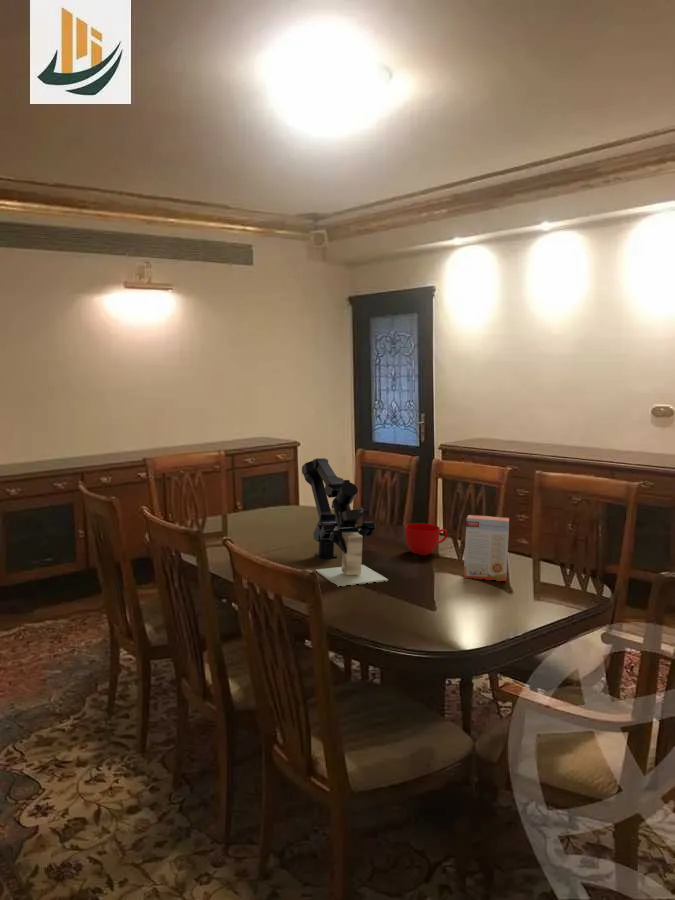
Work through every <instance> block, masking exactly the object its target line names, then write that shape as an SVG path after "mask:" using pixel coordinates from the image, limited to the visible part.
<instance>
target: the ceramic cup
mask: <svg viewBox="0 0 675 900" xmlns="http://www.w3.org/2000/svg"><path fill="white" fill-rule="evenodd" d="M442 532H445V535H444V537H443V538H441V539H440V540H439V538H440V534H441V533H442ZM404 534H405V535H404V537H405V541H406V544H407V547H408V548H409V550H410V551H411V553H412V554H413V553H415V554H414V555H416V554H419V555H418V556H428V554H429V555H431V553H432V552H433V551H434V550H435V549H436V547H437V545H439V544H441V543H442V542H444V541H446V539H447V538H448V536H449V532H448V530H447V529H445V528H440V527H439V526H437V525H435V524H430V523H422V522H421V523H418V522H417V523H408V524H406V525H405V527H404Z"/></svg>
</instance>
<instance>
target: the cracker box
mask: <svg viewBox="0 0 675 900" xmlns="http://www.w3.org/2000/svg"><path fill="white" fill-rule="evenodd" d="M509 531H510V517H501V516H500V517H499V516H498V517H497V516H490V515H489V516H488V515H473V514H468V515H467V517H466V523H465V537H464V538H465V544H464V561H463V562H464V563H463V565H464V567H463V578H464V579H472V578H473V579H472V580H482V579H485V580H484V581H491V580H496V581H495V582H501V581H505V582H506V580H507V571H508V570H507V569H508V552H509V535H510V534H509Z"/></svg>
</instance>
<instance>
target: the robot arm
mask: <svg viewBox="0 0 675 900" xmlns="http://www.w3.org/2000/svg"><path fill="white" fill-rule="evenodd" d="M301 473H302V475H303V477H304V481H305V482H306V483H308V485H310V487H311V491H312V495H313V498H314V502H315V506H316V511H317V514H318V520H317V521H316V522H317V523H316V527H315V529H314V531H313V540H315V541H316V542H318V552H315V553H314V555H315V556H317V557H318V558H319V559H321V560H323V559H324V560H325V559H332V558H334V557H335V558H338V555H337V554H335V545H337V547H339V549H340V550H341V551H343V552H344V553H346V552H347V551H346V546H345V543H344V540H343V533H359V534H360V535H362V536H363V541H362V552H363V550H364V549H363V548H364V539H365V538H366V537H372V536H373V535H374V532H375V531H376V530H377V529H376V528H377V525H376V523H375V522H374V521H363V522H362V524H361V525H360V526H359V525H357V524H358V520H361V518H364V517H365V511H364V508H363V507H357V508H356V509H352V508H351V504H352V503H353V501H354V500H355V497H356V496H357V494H358V491H359V490H358V487H357V485H356V484H354V483H353V482H350V481H351V480H350V479H344V478H343V477H340V476H337V475H336V473H335V471H334V470H333V468H332V467H331V466H330V464H329V459H327V458H325V457H323V458H321V457H320V458H314V459H313V460H311V461H307V462H304V464H303V465H302V466H301ZM329 498H333V500H332V502H331V506H330V502H329V500H328V499H329ZM331 509H332V510H333V512H334V513H332V510H331ZM335 558H334V559H335Z"/></svg>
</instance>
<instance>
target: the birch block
mask: <svg viewBox="0 0 675 900" xmlns="http://www.w3.org/2000/svg"><path fill="white" fill-rule="evenodd" d="M342 537H343V540H344V543H345V546H346V551H347V552H346V553H344V552H343V551H342V550H341V551H342V556H341V558H342V559H341V567H342V572H344V573H345V574H346V575H359V574H361V565H362V563H363V561H362V560H363V551H362V541H363V542H364V540H363V536H362V535H360V534H359V533H356V532H353V533H342Z"/></svg>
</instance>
